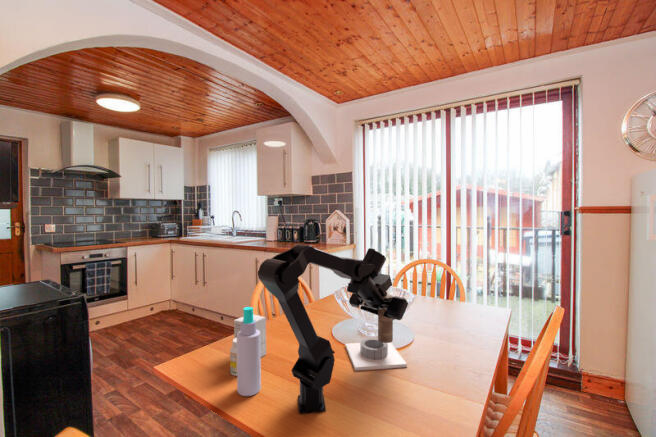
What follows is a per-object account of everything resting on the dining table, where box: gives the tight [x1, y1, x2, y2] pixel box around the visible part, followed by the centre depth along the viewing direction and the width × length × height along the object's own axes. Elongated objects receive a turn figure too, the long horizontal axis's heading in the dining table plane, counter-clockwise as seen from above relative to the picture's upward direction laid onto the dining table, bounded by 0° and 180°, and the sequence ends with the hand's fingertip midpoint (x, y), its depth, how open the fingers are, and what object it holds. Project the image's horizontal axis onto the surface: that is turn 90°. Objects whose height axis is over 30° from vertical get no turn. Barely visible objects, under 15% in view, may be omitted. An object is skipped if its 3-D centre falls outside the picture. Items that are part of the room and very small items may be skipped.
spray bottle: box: [236, 306, 262, 397], centre depth 81 cm, size 6×6×22 cm
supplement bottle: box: [229, 338, 237, 377], centre depth 90 cm, size 5×5×10 cm
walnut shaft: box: [377, 294, 394, 343], centre depth 97 cm, size 5×5×14 cm
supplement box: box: [233, 313, 267, 358], centre depth 99 cm, size 7×7×13 cm
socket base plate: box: [345, 337, 408, 371], centre depth 100 cm, size 16×16×4 cm
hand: (387, 316), depth 98 cm, fingers closed on walnut shaft, 5 cm apart
